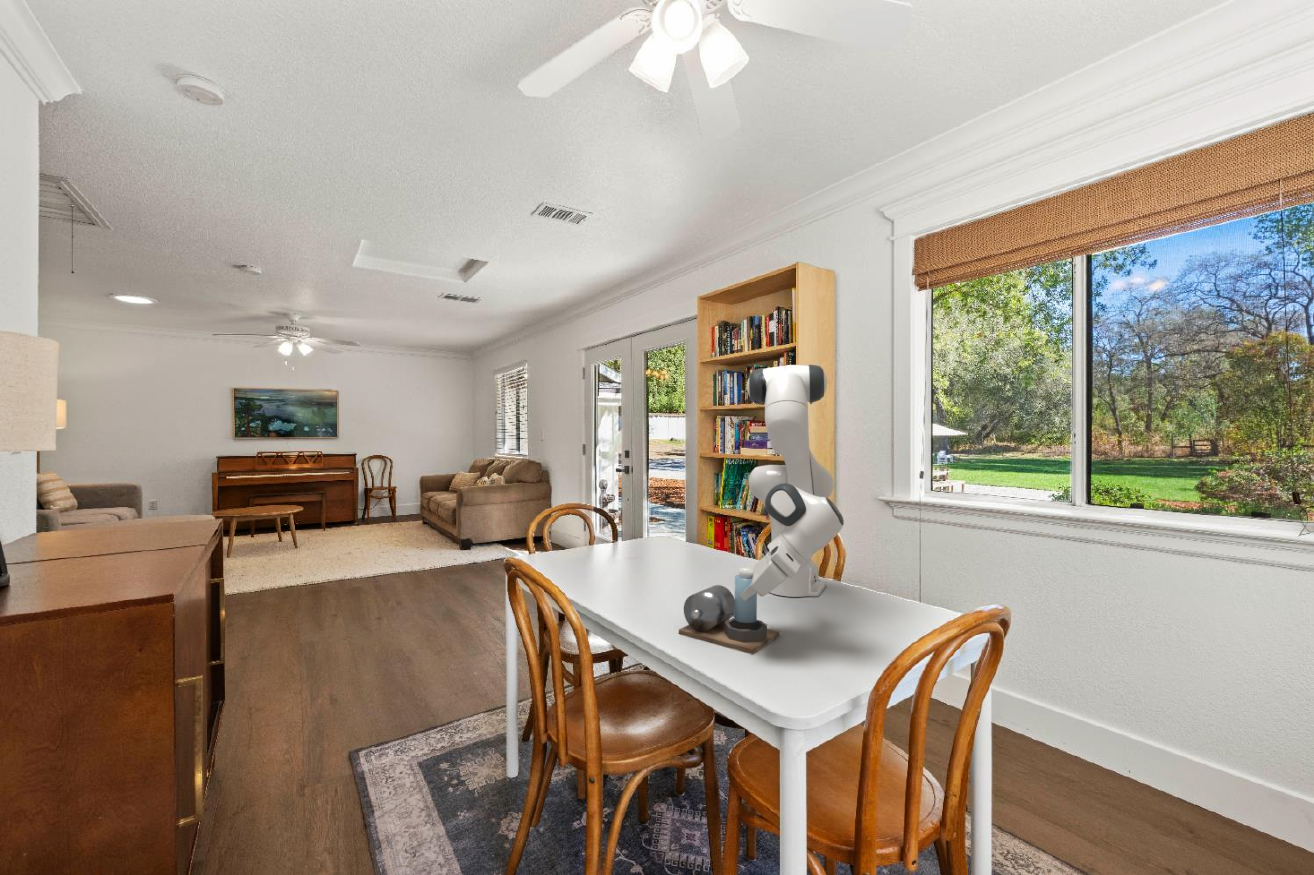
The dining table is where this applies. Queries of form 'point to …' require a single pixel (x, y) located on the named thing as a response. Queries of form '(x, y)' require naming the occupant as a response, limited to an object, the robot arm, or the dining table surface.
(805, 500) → the robot arm
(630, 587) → the dining table surface
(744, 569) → the blue plastic bottle
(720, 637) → the base plate
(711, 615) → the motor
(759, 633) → the collar
